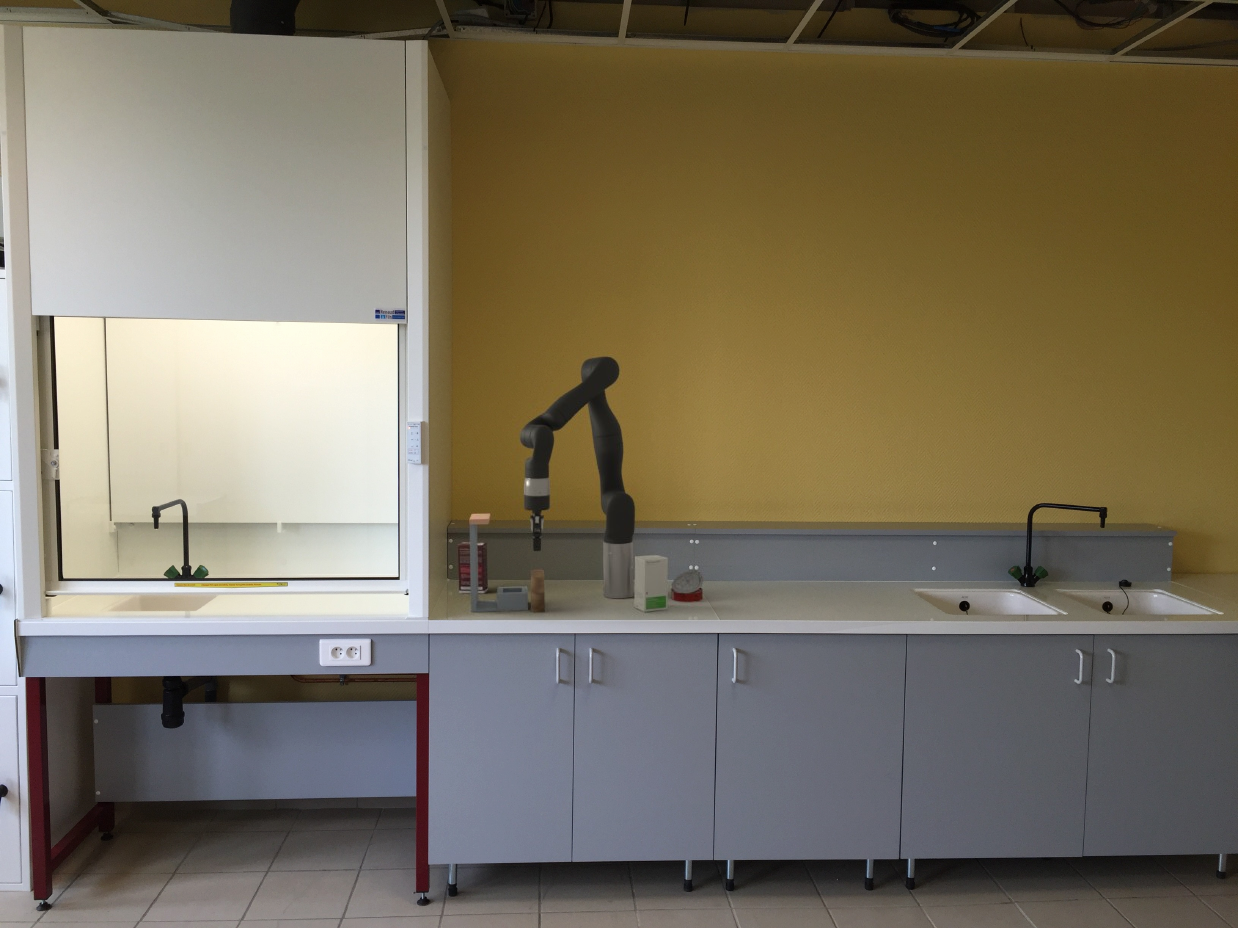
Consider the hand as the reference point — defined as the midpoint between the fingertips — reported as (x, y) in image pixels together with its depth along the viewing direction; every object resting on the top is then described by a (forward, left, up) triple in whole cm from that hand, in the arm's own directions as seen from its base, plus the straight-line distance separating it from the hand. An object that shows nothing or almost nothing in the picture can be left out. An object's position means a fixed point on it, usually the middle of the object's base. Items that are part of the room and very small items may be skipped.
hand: (537, 548), depth 241 cm
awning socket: (+11, -6, -19) cm, 23 cm away
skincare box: (-34, +1, -19) cm, 39 cm away
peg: (0, 0, -19) cm, 19 cm away
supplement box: (+20, -26, -19) cm, 38 cm away
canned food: (-47, -10, -19) cm, 51 cm away
